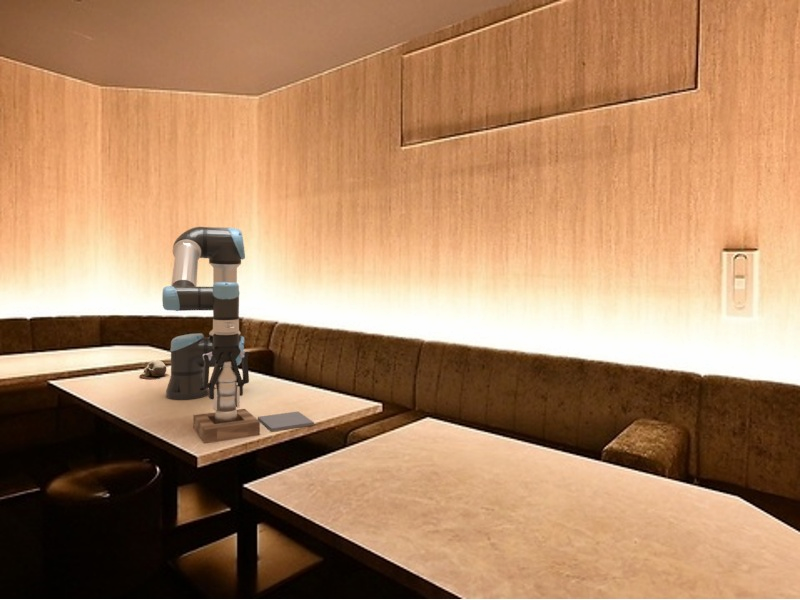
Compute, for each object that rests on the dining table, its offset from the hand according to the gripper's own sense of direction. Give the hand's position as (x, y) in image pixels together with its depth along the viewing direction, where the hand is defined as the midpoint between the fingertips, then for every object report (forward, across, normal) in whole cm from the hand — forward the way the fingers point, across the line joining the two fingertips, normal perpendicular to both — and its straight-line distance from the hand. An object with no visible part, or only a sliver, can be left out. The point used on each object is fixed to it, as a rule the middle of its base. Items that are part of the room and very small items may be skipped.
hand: (225, 407), depth 163 cm
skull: (+8, -9, +91) cm, 92 cm away
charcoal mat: (+7, +19, 0) cm, 20 cm away
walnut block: (+7, 0, 0) cm, 7 cm away
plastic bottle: (+6, 0, 0) cm, 6 cm away
